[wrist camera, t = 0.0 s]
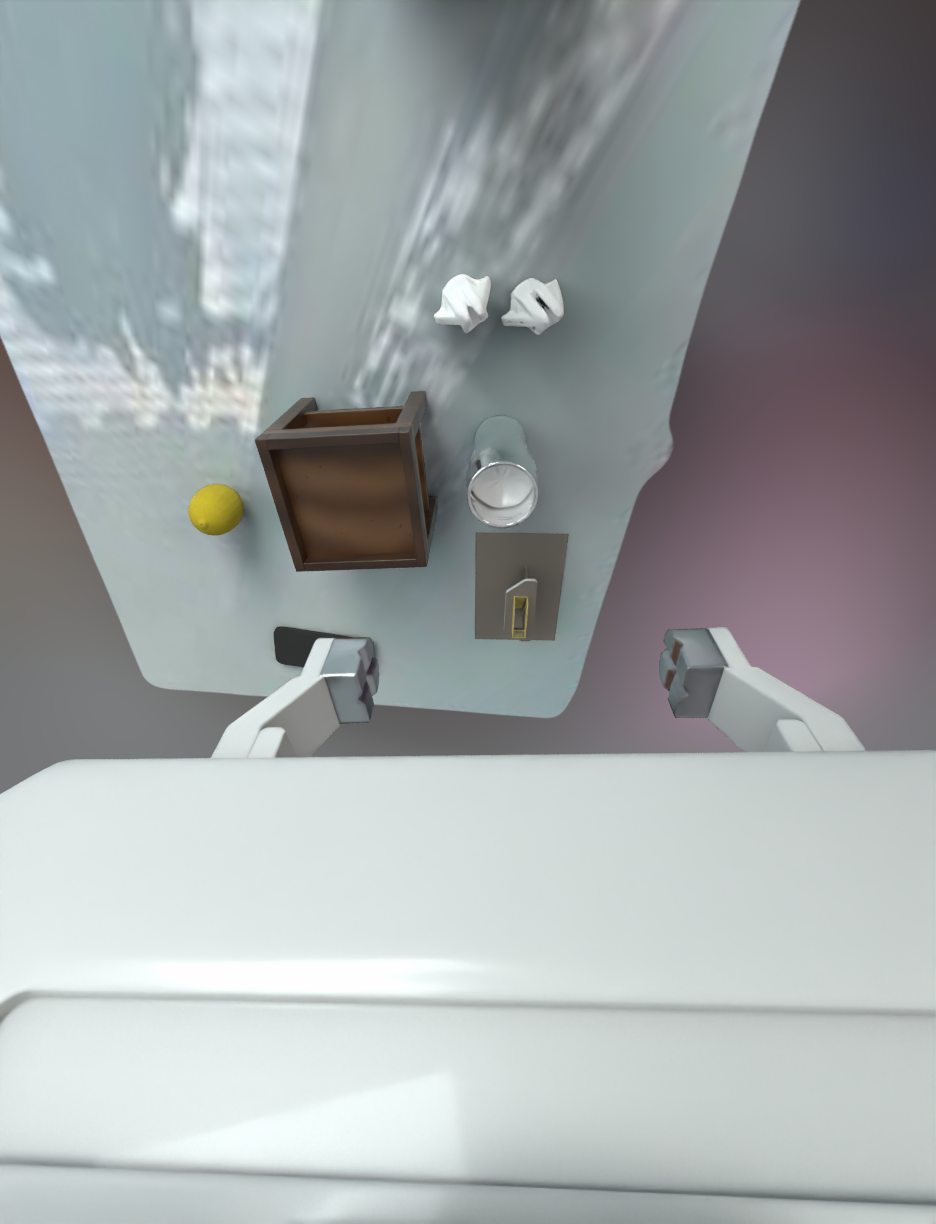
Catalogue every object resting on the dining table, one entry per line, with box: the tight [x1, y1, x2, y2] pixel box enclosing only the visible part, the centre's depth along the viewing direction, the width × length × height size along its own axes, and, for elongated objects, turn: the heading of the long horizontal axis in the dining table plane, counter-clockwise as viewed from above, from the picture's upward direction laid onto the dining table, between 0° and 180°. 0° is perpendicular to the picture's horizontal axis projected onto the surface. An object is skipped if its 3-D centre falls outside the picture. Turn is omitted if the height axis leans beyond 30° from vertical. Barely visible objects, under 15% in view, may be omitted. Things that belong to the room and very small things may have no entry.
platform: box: [475, 533, 569, 641], centre depth 69 cm, size 12×18×7 cm, turn 0°
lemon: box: [189, 484, 244, 535], centre depth 61 cm, size 6×6×8 cm
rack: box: [255, 391, 438, 572], centre depth 55 cm, size 14×14×14 cm
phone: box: [274, 627, 373, 667], centre depth 79 cm, size 7×1×15 cm
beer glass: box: [466, 415, 538, 528], centre depth 53 cm, size 7×7×15 cm
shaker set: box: [434, 275, 564, 335], centre depth 46 cm, size 12×4×11 cm, turn 88°
